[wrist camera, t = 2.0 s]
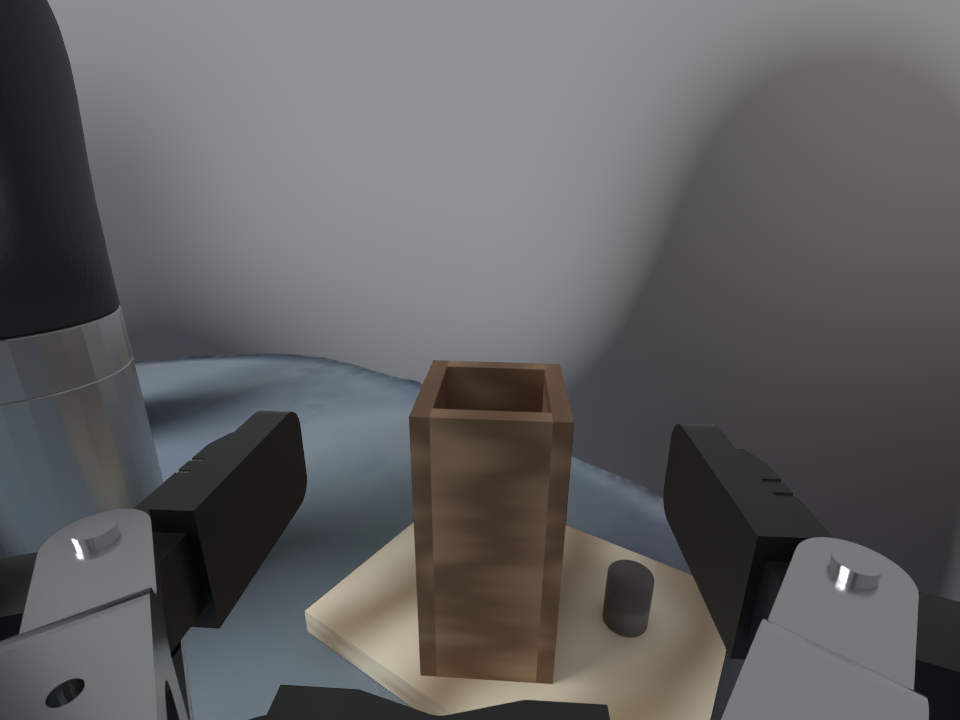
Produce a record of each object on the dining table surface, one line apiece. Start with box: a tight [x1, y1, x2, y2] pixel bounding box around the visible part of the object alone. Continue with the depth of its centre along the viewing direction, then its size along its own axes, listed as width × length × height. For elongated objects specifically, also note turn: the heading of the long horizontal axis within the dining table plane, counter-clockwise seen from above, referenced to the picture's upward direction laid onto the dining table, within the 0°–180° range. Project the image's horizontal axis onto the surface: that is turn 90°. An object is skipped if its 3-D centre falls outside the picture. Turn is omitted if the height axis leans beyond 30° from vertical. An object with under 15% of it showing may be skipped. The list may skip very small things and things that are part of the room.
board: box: [305, 522, 726, 720], centre depth 29 cm, size 20×15×4 cm
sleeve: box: [409, 360, 574, 684], centre depth 25 cm, size 6×6×14 cm
